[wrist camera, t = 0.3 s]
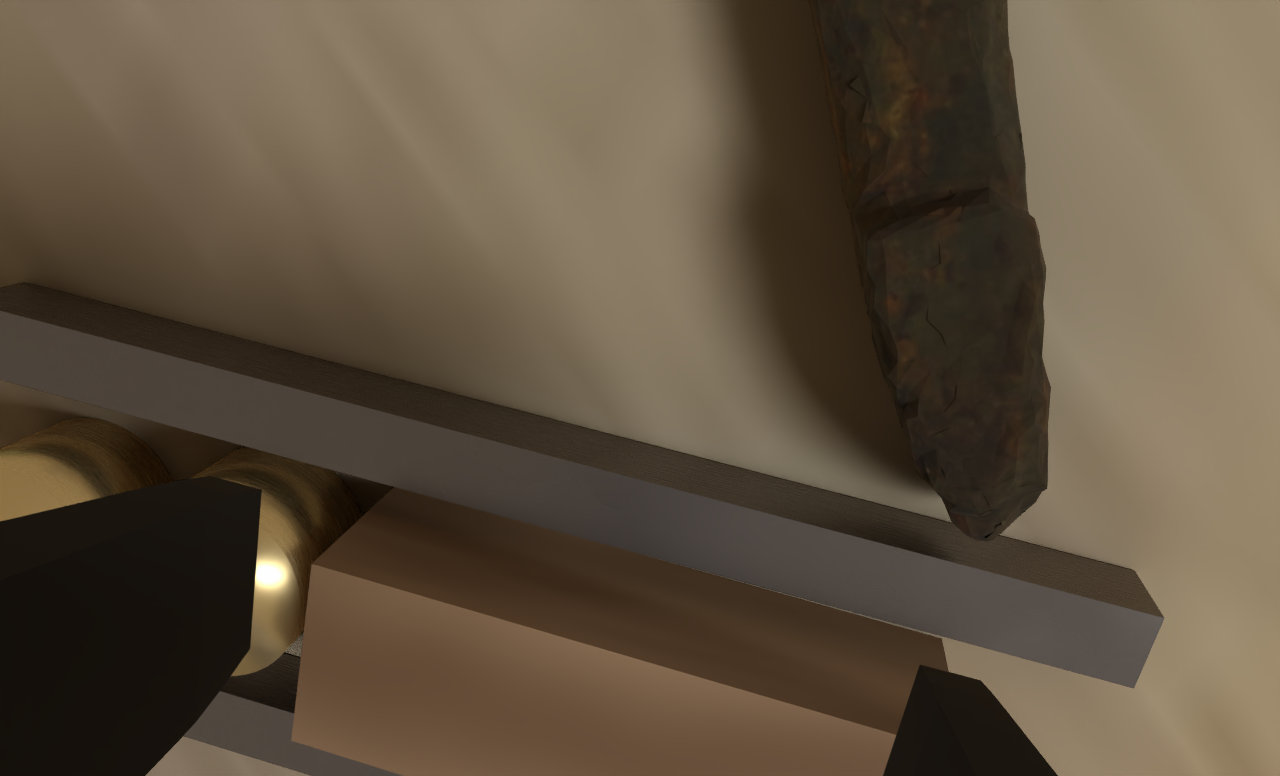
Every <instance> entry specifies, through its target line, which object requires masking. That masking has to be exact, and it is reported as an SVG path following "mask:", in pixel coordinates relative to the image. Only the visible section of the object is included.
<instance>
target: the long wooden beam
mask: <svg viewBox="0 0 1280 776" xmlns="http://www.w3.org/2000/svg"><path fill="white" fill-rule="evenodd" d="M919 665H924V666H928V667H932V668H935V669H939V670H943V671H947V672H948V667H947V662H946V657H945V652H944V647H943V643H942V639H940V638H937V637H933V636H930V635H926V634H923V633H919V632H916V631H912V630H908V629H905V628H901V627H898V626H894V625H891V624H887V623H884V622H880V621H876V620H873V619H869V618H866V617H862V616H859V615H855V614H852V613H848V612H844V611H841V610H837V609H834V608H830V607H827V606H823V605H820V604H816V603H812V602H809V601H805V600H802V599H798V598H795V597H791V596H788V595H784V594H780V593H777V592H773V591H770V590H766V589H763V588H759V587H756V586H752V585H748V584H745V583H741V582H738V581H734V580H731V579H727V578H724V577H720V576H717V575H713V574H709V573H706V572H702V571H699V570H695V569H692V568H688V567H685V566H681V565H677V564H674V563H670V562H667V561H663V560H660V559H656V558H653V557H649V556H645V555H642V554H638V553H635V552H631V551H628V550H624V549H620V548H617V547H613V546H609V545H606V544H602V543H598V542H595V541H591V540H587V539H584V538H580V537H576V536H573V535H569V534H565V533H561V532H558V531H554V530H550V529H547V528H543V527H539V526H536V525H532V524H528V523H525V522H521V521H517V520H514V519H510V518H506V517H503V516H499V515H495V514H492V513H488V512H484V511H481V510H477V509H473V508H470V507H466V506H462V505H459V504H455V503H451V502H448V501H444V500H440V499H437V498H433V497H429V496H426V495H422V494H418V493H415V492H411V491H407V490H404V489H400V488H396V487H394V488H392V489H391V490H390V491H389V492H388V493H387V494H386V495H385V496H384V497H383V498H382V499H381V500H380V501H379V502H377V503H376V504H375V505H374V506H373V507H372V508H371V509H370V510H369V511H368V512H367V513H366V514H365V515H363V516H362V517H361V518H360V519H359V520H358V521H357V522H356V523H355V524H354V525H353V526H352V527H351V528H350V529H348V530H347V531H346V532H345V533H344V534H343V535H342V536H341V537H340V538H339V539H338V540H337V541H336V542H335V543H333V544H332V545H331V546H330V547H329V548H328V549H327V550H326V551H325V552H324V553H323V554H322V555H321V556H320V557H318V558H317V559H316V560H315V561H314V562H313V563H312V565H311V574H310V583H309V591H308V600H307V609H306V617H305V626H304V635H303V643H302V652H301V660H300V669H299V678H298V686H297V695H296V704H295V712H294V721H293V730H292V738H291V741H294V742H297V743H301V744H304V745H307V746H310V747H313V748H317V749H320V750H323V751H326V752H329V753H332V754H336V755H339V756H342V757H345V758H348V759H352V760H355V761H358V762H361V763H364V764H368V765H371V766H374V767H377V768H380V769H384V770H387V771H390V772H393V773H396V774H399V775H403V776H883V774H884V771H885V768H886V765H887V762H888V759H889V756H890V753H891V750H892V747H893V744H894V741H895V738H896V735H897V732H898V729H899V726H900V723H901V720H902V717H903V714H904V711H905V708H906V704H907V701H908V698H909V695H910V692H911V689H912V686H913V683H914V680H915V677H916V674H917V671H918V668H919Z"/></svg>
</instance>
